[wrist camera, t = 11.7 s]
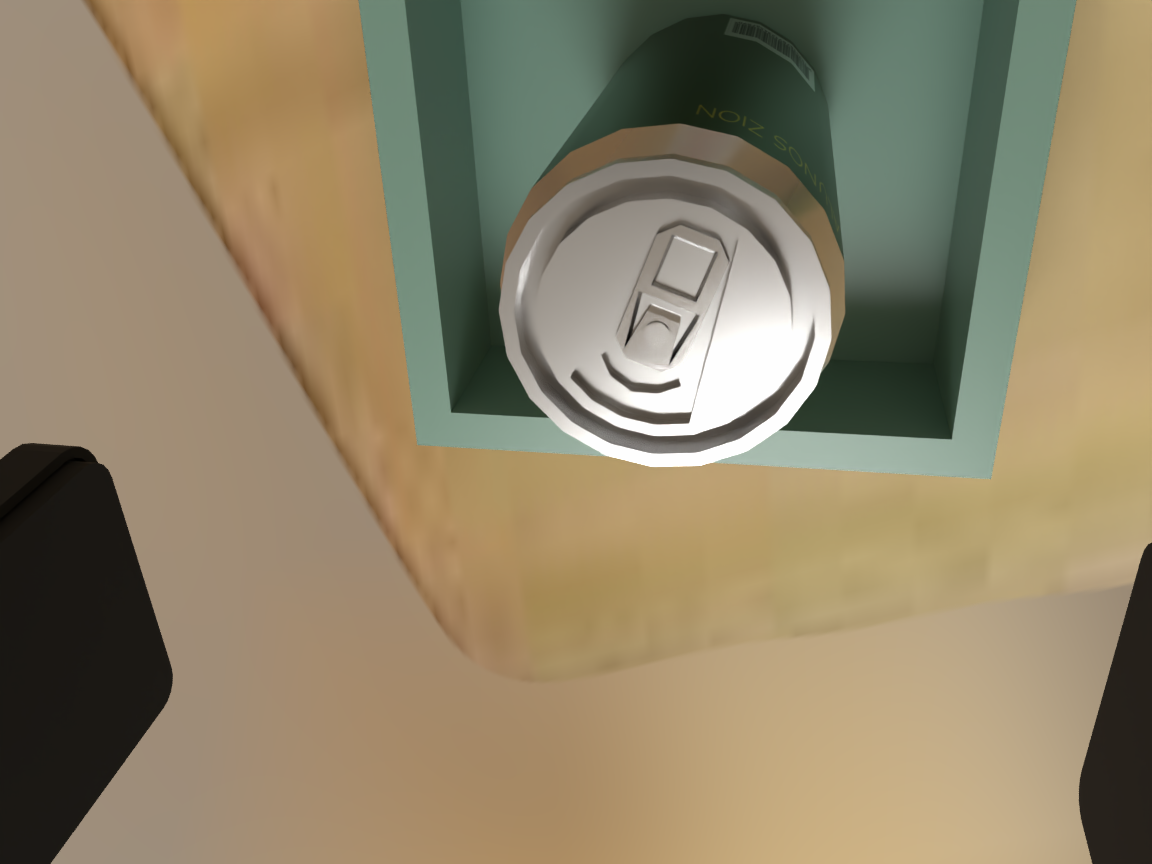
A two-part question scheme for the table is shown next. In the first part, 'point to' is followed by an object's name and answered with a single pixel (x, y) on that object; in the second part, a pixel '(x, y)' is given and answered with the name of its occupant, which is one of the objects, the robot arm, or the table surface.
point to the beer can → (682, 251)
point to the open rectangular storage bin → (864, 188)
